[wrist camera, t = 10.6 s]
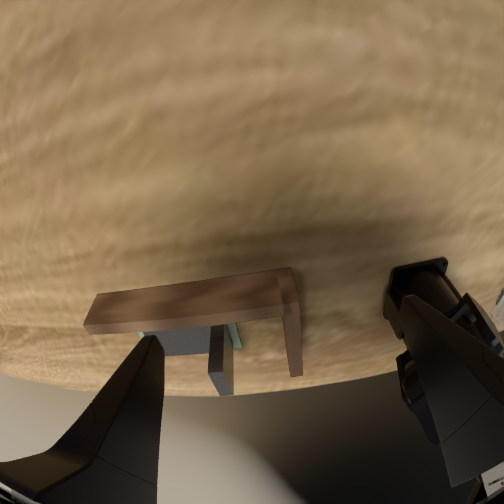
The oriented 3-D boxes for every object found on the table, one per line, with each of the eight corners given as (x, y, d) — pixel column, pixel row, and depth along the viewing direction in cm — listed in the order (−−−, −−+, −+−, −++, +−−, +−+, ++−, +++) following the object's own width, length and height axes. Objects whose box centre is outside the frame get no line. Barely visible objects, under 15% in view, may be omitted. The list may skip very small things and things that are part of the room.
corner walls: (290, 267, 23) (299, 301, 20) (297, 343, 29) (303, 375, 26) (97, 294, 24) (82, 325, 21) (138, 358, 30) (132, 387, 27)
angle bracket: (224, 315, 26) (223, 371, 21) (233, 342, 28) (233, 394, 23) (144, 324, 26) (130, 375, 21) (159, 348, 28) (149, 397, 23)
